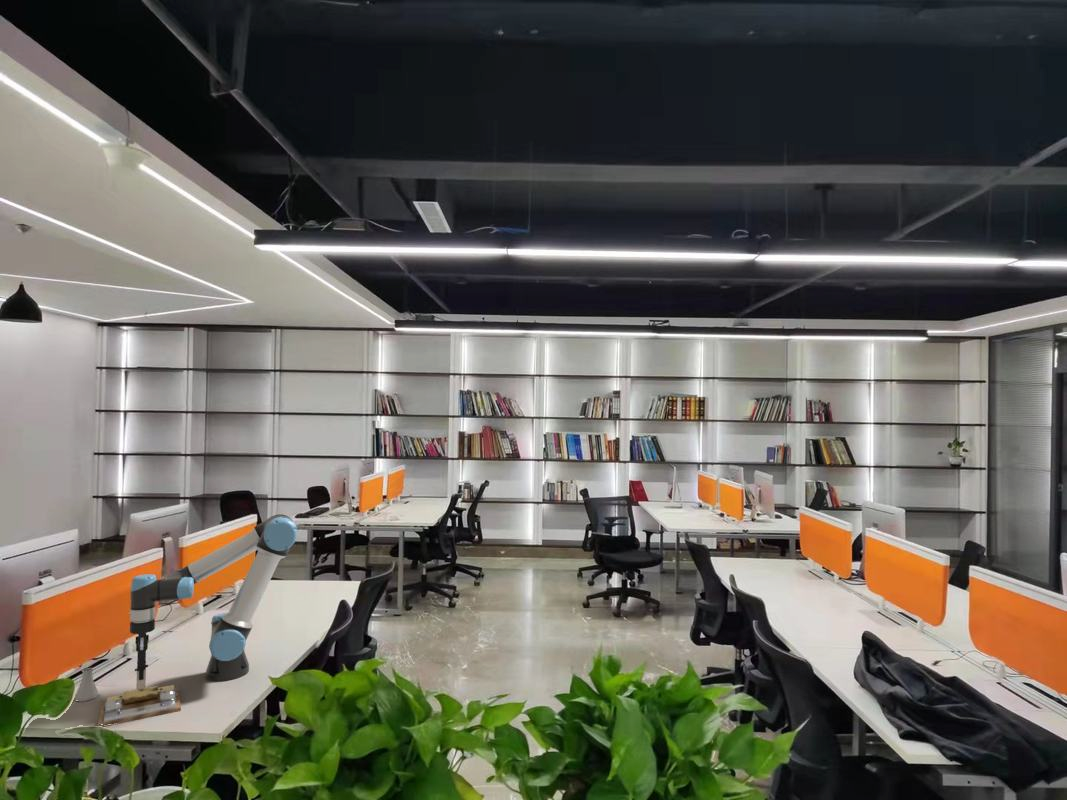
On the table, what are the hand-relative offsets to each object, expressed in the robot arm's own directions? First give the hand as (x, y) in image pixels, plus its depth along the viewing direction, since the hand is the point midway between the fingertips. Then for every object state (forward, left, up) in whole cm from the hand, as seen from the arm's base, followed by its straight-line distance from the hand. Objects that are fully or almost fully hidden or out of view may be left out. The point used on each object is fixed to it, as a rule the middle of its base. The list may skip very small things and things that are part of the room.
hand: (140, 688), depth 223 cm
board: (0, +8, -4) cm, 9 cm away
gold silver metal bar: (0, +2, -3) cm, 4 cm away
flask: (+16, -12, -4) cm, 21 cm away
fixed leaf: (0, +13, -3) cm, 13 cm away
